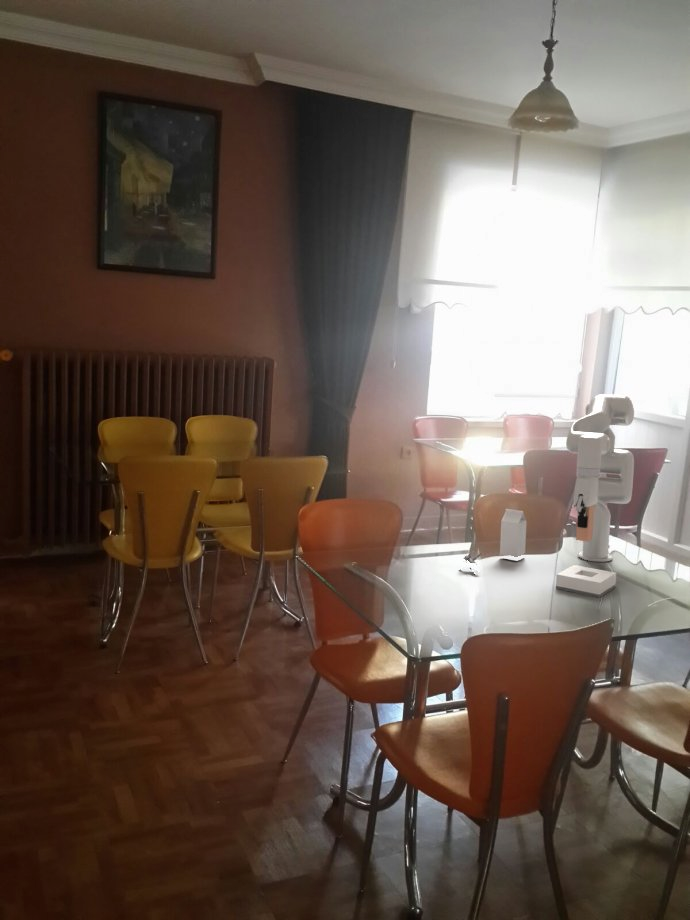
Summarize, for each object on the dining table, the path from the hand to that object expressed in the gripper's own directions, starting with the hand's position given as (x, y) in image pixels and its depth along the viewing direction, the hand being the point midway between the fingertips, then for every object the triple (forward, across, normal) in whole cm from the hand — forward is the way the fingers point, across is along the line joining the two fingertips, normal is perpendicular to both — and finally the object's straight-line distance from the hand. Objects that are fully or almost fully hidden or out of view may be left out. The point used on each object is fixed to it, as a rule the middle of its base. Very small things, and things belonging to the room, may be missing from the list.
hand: (585, 525), depth 278 cm
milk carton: (+22, -17, -35) cm, 44 cm away
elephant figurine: (+22, +9, -37) cm, 44 cm away
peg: (+5, 0, 0) cm, 5 cm away
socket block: (+21, 0, +2) cm, 21 cm away
